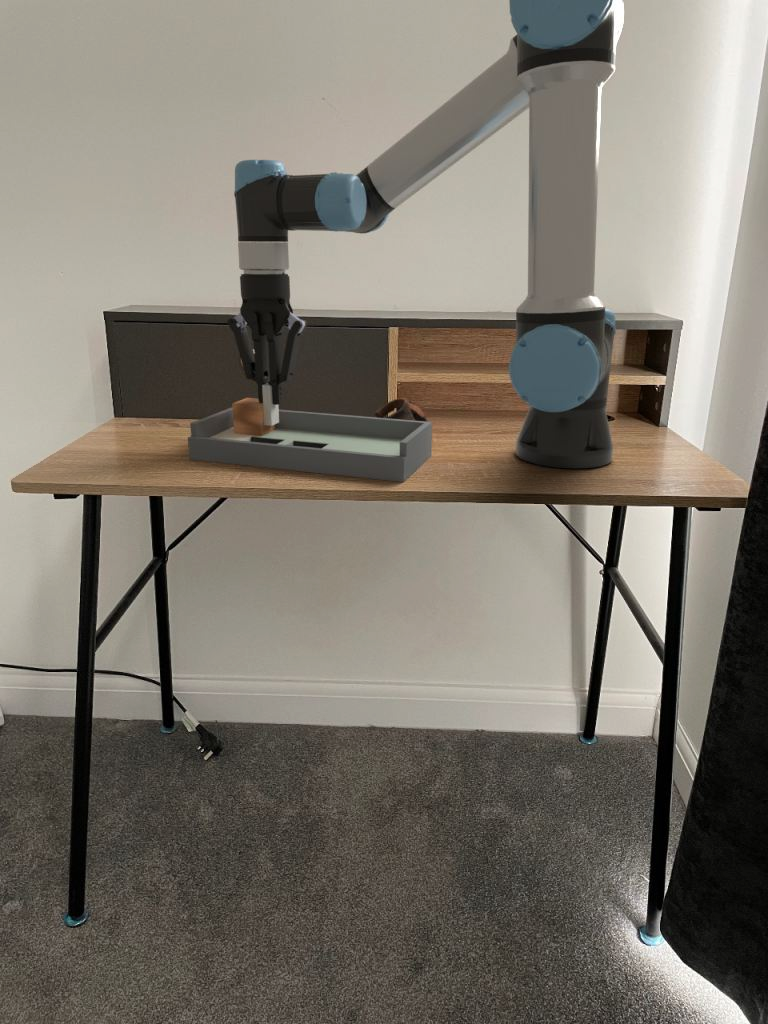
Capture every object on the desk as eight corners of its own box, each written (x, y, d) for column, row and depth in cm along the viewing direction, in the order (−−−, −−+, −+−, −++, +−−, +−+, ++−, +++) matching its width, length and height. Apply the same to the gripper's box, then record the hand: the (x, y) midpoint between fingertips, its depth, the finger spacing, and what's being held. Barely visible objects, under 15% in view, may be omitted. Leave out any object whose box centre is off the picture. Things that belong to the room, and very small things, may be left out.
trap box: (431, 455, 118) (432, 422, 117) (403, 482, 105) (404, 444, 103) (237, 437, 129) (235, 406, 127) (189, 459, 115) (186, 424, 114)
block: (275, 429, 124) (274, 399, 122) (261, 436, 120) (260, 405, 118) (248, 426, 125) (247, 397, 124) (234, 433, 121) (232, 403, 119)
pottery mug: (432, 450, 124) (409, 410, 120) (384, 470, 127) (360, 431, 124) (440, 417, 133) (419, 379, 130) (394, 436, 137) (373, 399, 134)
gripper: (313, 272, 114) (317, 421, 122) (239, 270, 118) (247, 416, 126) (292, 273, 108) (298, 431, 116) (214, 272, 112) (225, 425, 120)
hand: (271, 423), depth 121 cm, fingers closed
